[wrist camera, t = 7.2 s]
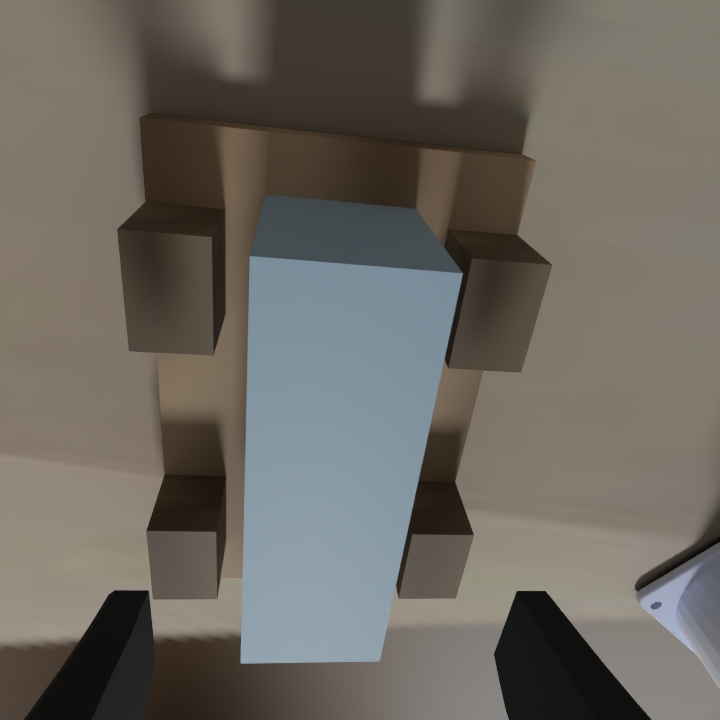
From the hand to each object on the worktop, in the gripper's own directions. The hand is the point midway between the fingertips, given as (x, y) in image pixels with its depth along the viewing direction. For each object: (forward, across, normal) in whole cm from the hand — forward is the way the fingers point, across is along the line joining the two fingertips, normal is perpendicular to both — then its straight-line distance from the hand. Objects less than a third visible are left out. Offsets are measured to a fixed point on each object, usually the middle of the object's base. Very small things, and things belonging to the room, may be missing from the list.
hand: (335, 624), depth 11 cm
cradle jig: (+9, 0, 0) cm, 9 cm away
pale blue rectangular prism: (+8, 0, 0) cm, 8 cm away
